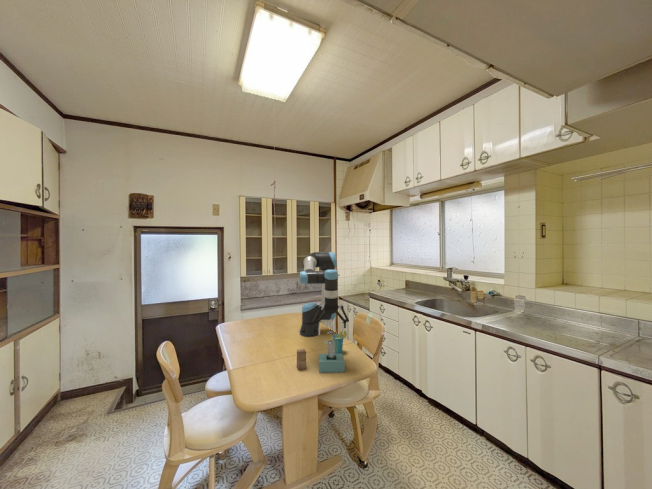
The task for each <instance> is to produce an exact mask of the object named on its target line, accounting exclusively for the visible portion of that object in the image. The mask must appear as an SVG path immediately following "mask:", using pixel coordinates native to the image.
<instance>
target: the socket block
mask: <svg viewBox="0 0 652 489" xmlns="http://www.w3.org/2000/svg"><path fill="white" fill-rule="evenodd" d="M343 354H344V353H343V352H342V353H335V360H328V353H318V372H319V374H321V373H322V374H324V373H325V374H326V373H327V374H328V373H345V372H346V371H345V370H346V368H345V367H346V366H345V364H346V363H345V359H344V355H343Z"/></svg>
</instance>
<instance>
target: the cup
mask: <svg viewBox="0 0 652 489" xmlns="http://www.w3.org/2000/svg"><path fill="white" fill-rule="evenodd" d="M331 333H332V336H331V338H332V341H334V342H335V353H342V354H343V345H344V344H343V343H344V339H345V338H346V337H347V335H348V334H347V330H346V331H345V330H344V335H343V334H342V330H340V331H339V333H337V334H335V333H334V332H333V331H332V330H331V331H328V332H326V334H327V335H329V334H331Z"/></svg>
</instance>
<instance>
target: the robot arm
mask: <svg viewBox="0 0 652 489" xmlns="http://www.w3.org/2000/svg"><path fill="white" fill-rule="evenodd" d="M336 255H337V254H336V253H335V252H333V251H315V252H311V253H309V254H307V255H306V256H305V257H304V259H303V261H302V262H303V263H302V264H303V270H301V271H300V273H299V283H300V284H302V285H304V284H305V285H310V284H312V285H313V284H314V285H315V284H317V285H319V284H321V301H320V302H319V304H318V303H317V302H308V303H305V304H303V305H302V308H301V326H300V329H299V335H300V336H302V337H309V338H310V337H315V336H320V335H321V321H333V320H335V319H336V315H337V316H338V317H339V319H340V320H341V321H342V322H341V331H342V334H343V335H344V331H345V329H347V323H348V322H350V319H349V317H348V315H347V313H346V311H345V309H344V305H343V304H340V305H339V302H338V301H339V298H338V296H339V288H338V287H339V273H338V272H339V271H338V270H336V268H338V263H337V262H338V261H337V256H336ZM316 268H319V270H317V271H316ZM339 309H340V310H341V312H342V314H343V315H342V314H341V313H340V312H339V311H338V310H339ZM343 316H344V317H343Z"/></svg>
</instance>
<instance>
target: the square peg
mask: <svg viewBox="0 0 652 489" xmlns="http://www.w3.org/2000/svg"><path fill="white" fill-rule="evenodd" d="M306 350H307V349H306V348H298V349H296V368H297V371H304V370H307V351H306Z"/></svg>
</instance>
